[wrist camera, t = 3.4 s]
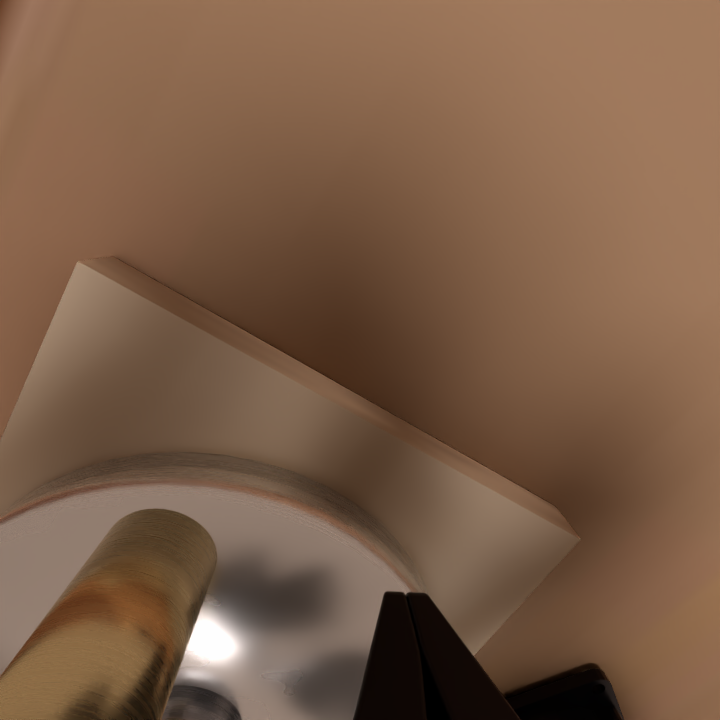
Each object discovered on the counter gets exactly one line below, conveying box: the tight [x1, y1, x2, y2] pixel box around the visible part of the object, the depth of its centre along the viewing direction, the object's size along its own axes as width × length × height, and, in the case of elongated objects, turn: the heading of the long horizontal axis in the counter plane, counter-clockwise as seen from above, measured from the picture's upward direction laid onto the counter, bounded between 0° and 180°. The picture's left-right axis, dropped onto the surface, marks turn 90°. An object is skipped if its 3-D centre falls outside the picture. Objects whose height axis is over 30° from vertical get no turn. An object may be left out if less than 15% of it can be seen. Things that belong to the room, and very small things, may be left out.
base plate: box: [0, 256, 581, 656], centre depth 14 cm, size 15×18×2 cm
